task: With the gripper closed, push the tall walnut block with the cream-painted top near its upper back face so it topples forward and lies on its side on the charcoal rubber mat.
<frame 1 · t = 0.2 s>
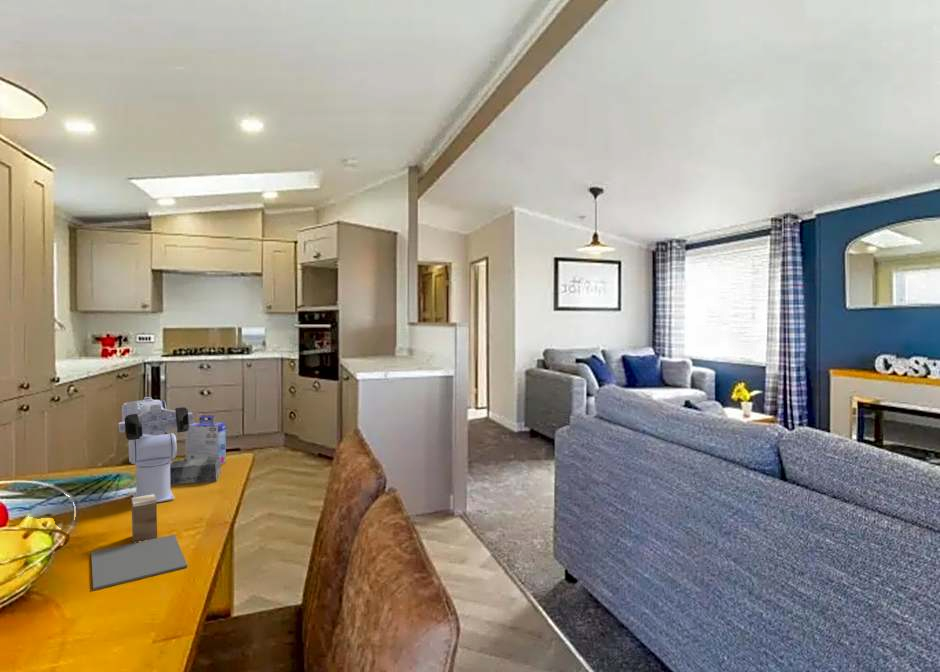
hand: (161, 428, 115), 21 cm above the table, tool horizontal, fingers open, 7 cm apart
stone block: (191, 480, 147), on the table
ink cartridge box: (206, 465, 161), on the table
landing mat: (138, 560, 100), on the table
walnut block: (144, 537, 110), on the table
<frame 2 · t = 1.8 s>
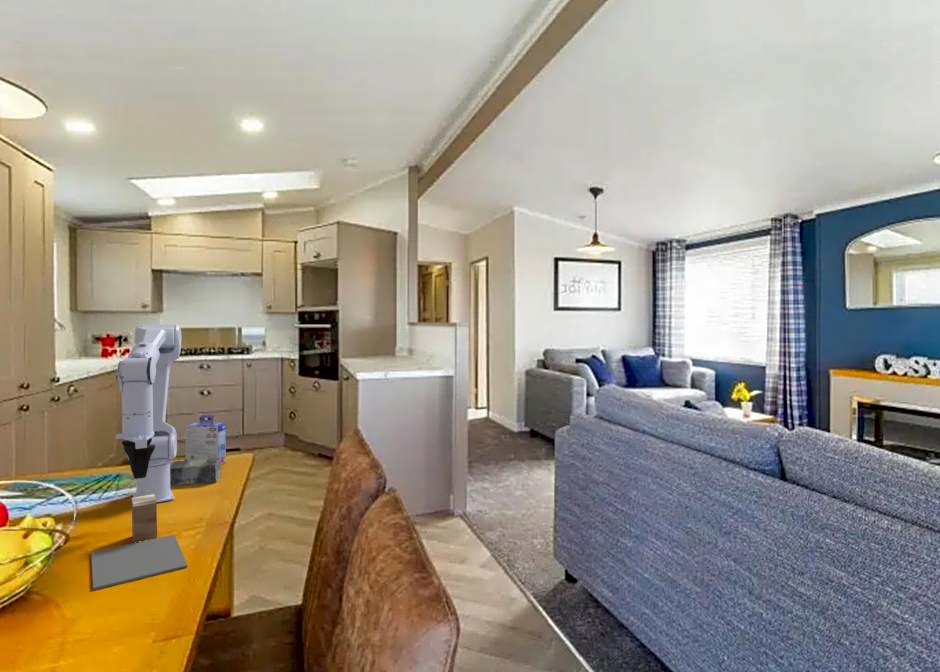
hand: (138, 474, 117), 10 cm above the table, tool pointing down, fingers open, 5 cm apart
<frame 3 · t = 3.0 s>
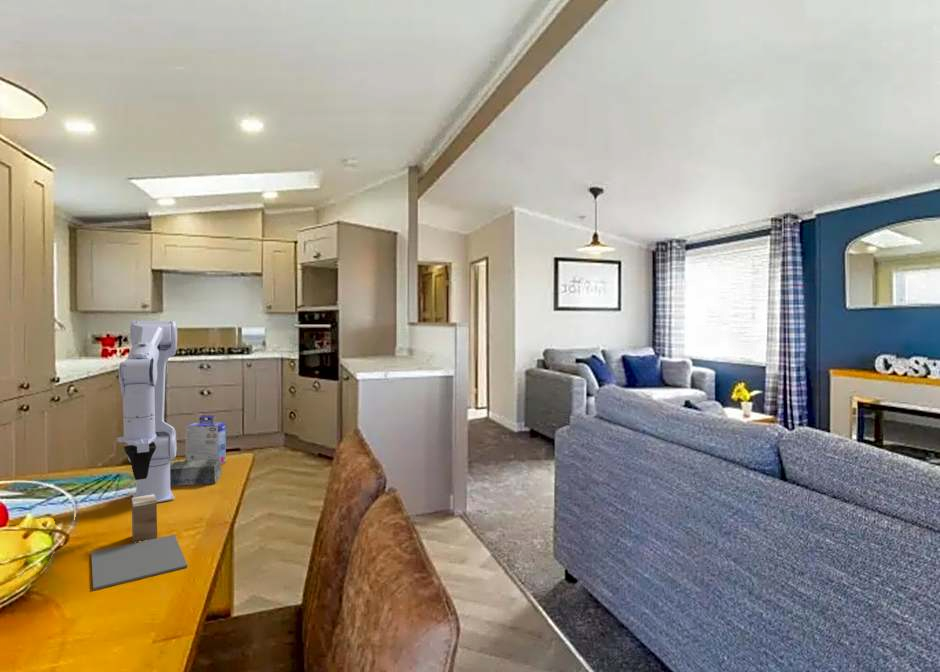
hand: (140, 478, 115), 10 cm above the table, tool pointing down, fingers closed
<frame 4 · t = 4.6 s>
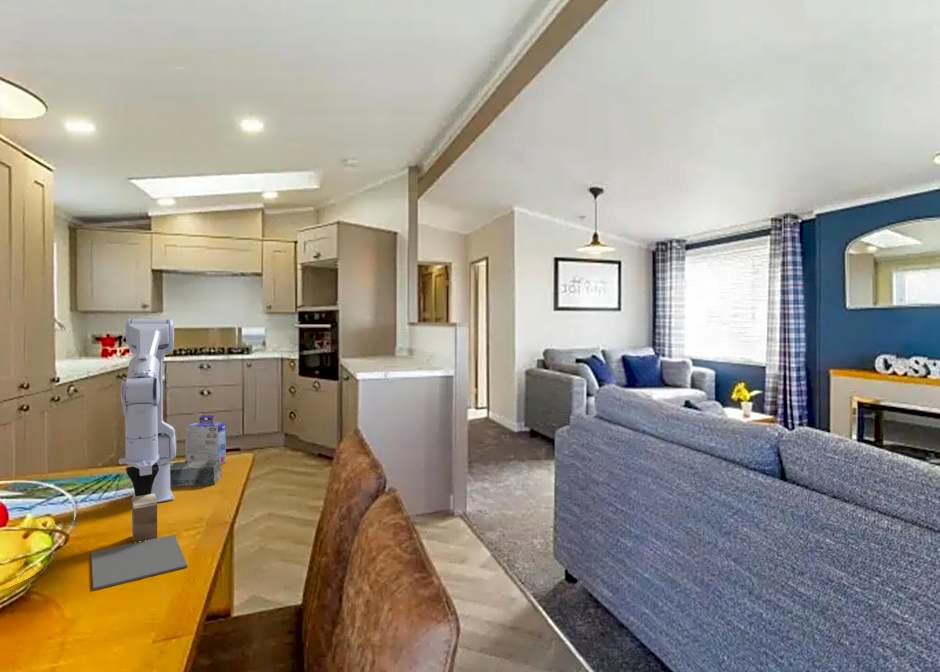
hand: (143, 501, 111), 7 cm above the table, tool pointing down, fingers closed
walnut block: (144, 535, 110), on the table, tilted 9°
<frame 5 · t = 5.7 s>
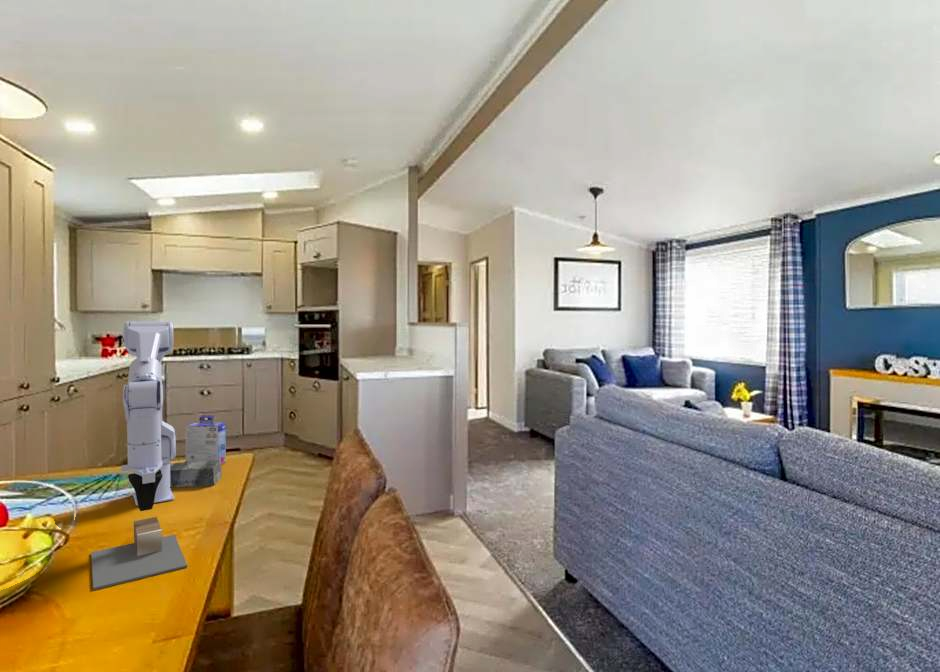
hand: (145, 509, 107), 7 cm above the table, tool pointing down, fingers closed
walnut block: (145, 528, 108), point 2 cm above the table, tilted 90°, touching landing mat
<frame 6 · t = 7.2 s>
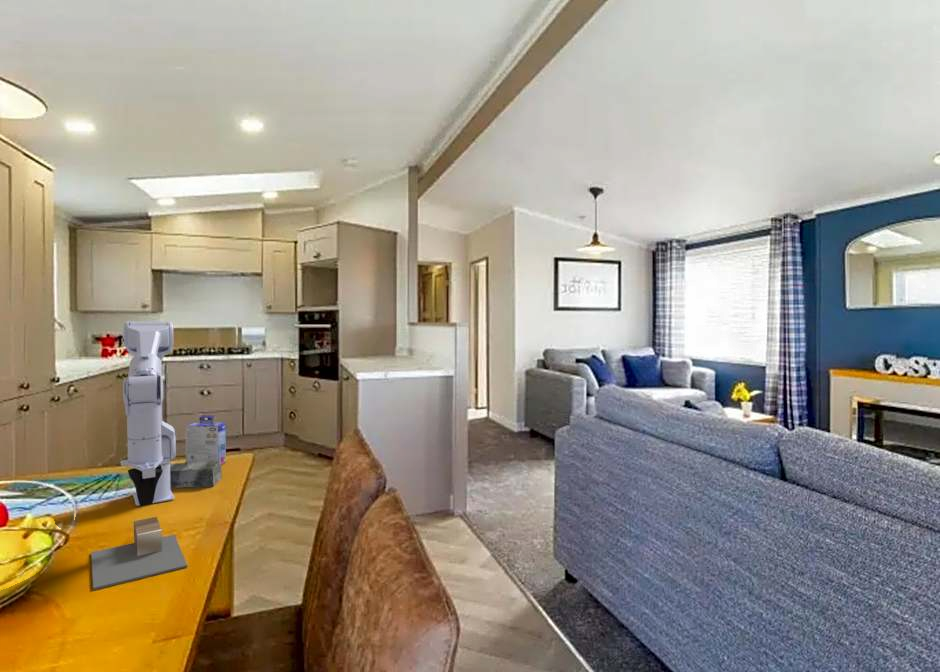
hand: (146, 504, 106), 8 cm above the table, tool pointing down, fingers closed
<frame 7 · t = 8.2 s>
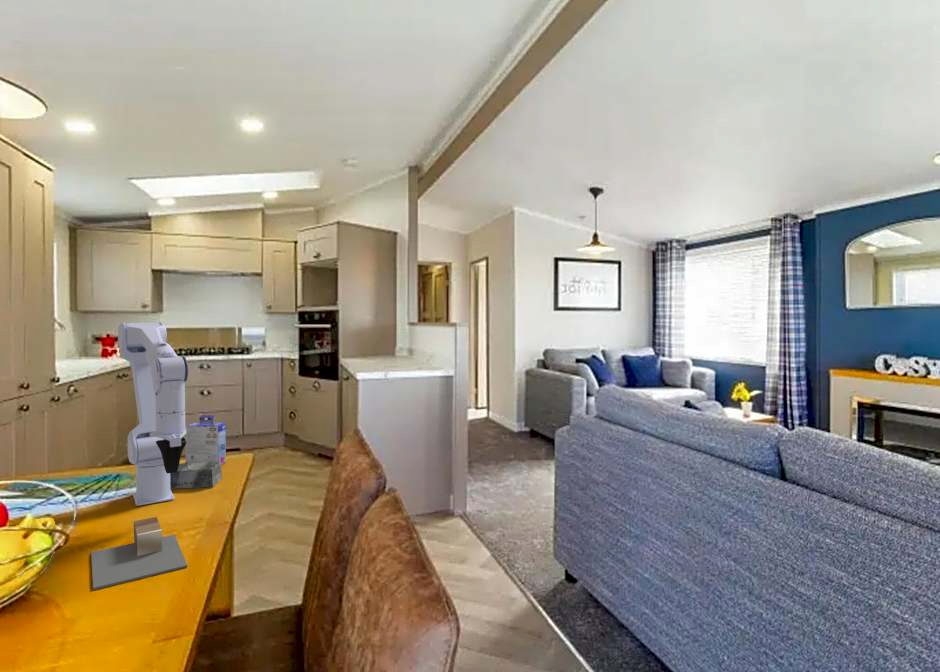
hand: (171, 472, 119), 10 cm above the table, tool pointing down, fingers closed
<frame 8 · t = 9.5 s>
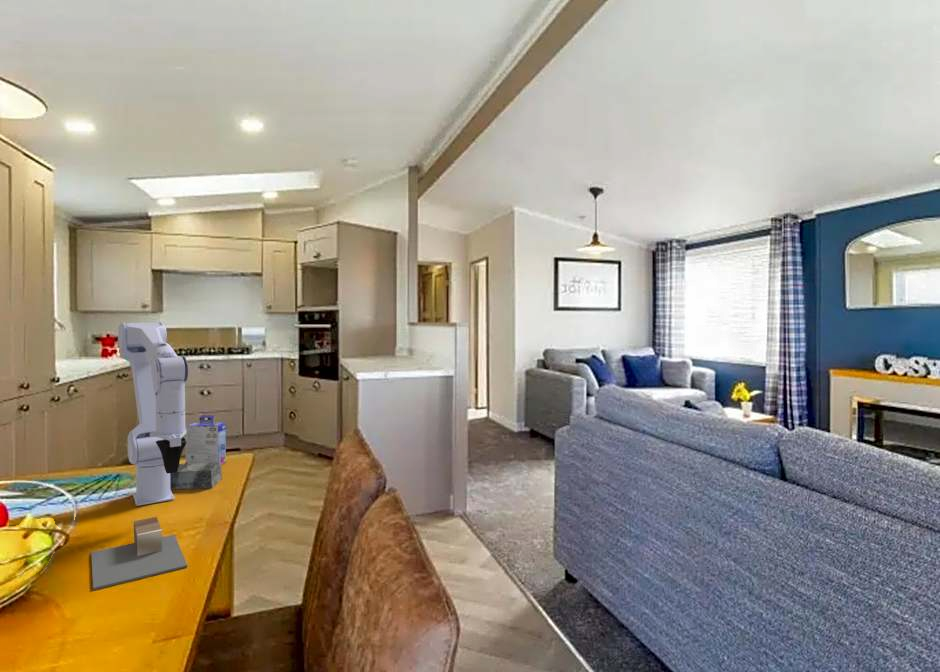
hand: (171, 472, 119), 10 cm above the table, tool pointing down, fingers closed
at the end: walnut block tilted 90°; walnut block inside the target area (2.1 cm from its centre), point 2.4 cm above the table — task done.
